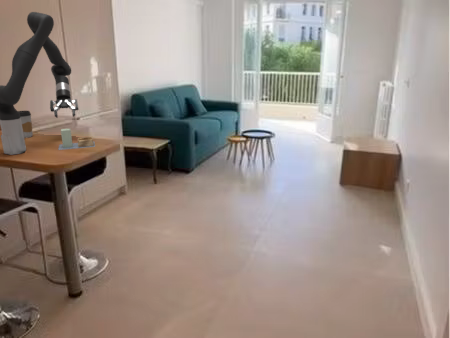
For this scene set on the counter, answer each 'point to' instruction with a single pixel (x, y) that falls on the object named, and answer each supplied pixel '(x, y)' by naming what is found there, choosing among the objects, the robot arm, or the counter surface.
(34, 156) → the counter surface
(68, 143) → the pillar
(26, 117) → the coffee cup
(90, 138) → the socket block
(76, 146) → the blueprint board
